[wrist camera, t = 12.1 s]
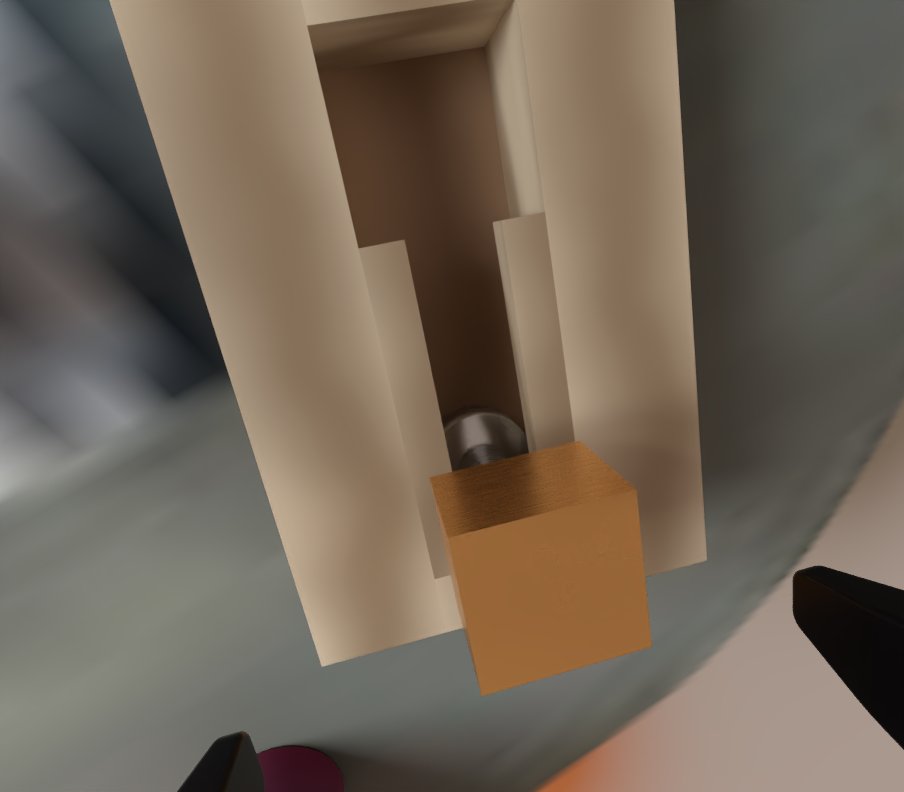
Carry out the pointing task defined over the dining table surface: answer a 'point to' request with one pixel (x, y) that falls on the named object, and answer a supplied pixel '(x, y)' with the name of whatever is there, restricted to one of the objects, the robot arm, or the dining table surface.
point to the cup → (299, 771)
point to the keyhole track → (430, 263)
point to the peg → (538, 552)
